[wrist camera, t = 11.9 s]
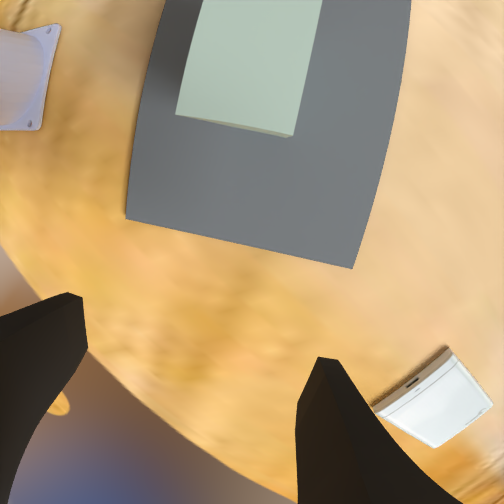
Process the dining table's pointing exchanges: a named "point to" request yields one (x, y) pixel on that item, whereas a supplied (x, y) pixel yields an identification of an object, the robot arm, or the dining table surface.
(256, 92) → the tall pastel pillar
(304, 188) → the slate mat
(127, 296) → the dining table surface
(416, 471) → the robot arm
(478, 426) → the dining table surface
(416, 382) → the hard drive
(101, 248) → the dining table surface
